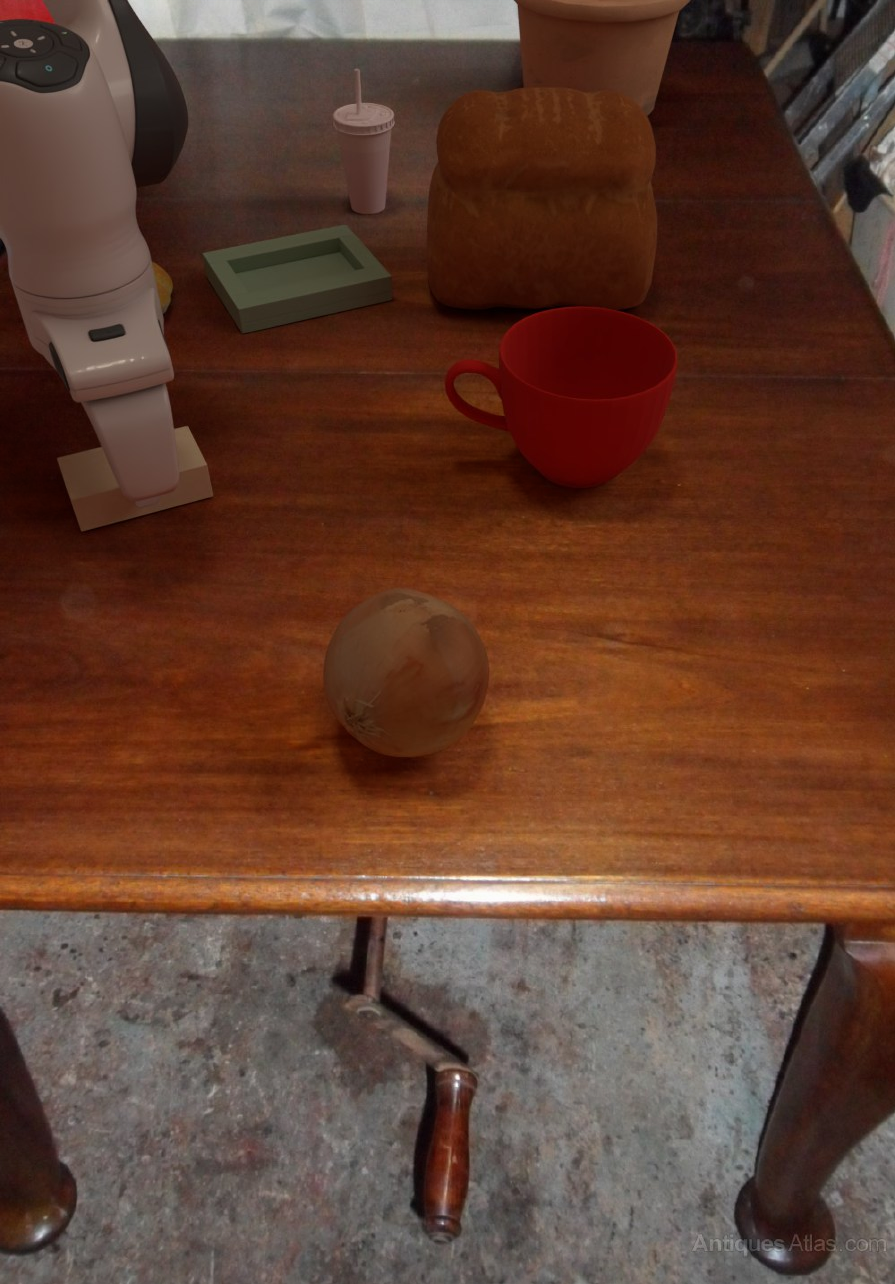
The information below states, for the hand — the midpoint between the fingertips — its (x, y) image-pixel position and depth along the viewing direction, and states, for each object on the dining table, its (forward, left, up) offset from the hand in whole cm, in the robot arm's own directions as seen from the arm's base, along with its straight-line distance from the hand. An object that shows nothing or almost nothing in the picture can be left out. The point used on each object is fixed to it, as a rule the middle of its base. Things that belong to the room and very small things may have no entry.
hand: (135, 475), depth 80 cm
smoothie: (+35, +39, -2) cm, 53 cm away
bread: (+44, +17, -2) cm, 47 cm away
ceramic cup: (+31, -10, -2) cm, 32 cm away
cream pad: (0, 0, -2) cm, 2 cm away
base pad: (+22, +25, -2) cm, 33 cm away
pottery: (+72, +55, -2) cm, 91 cm away
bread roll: (+6, +29, -2) cm, 29 cm away
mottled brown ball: (+10, -30, -2) cm, 31 cm away
